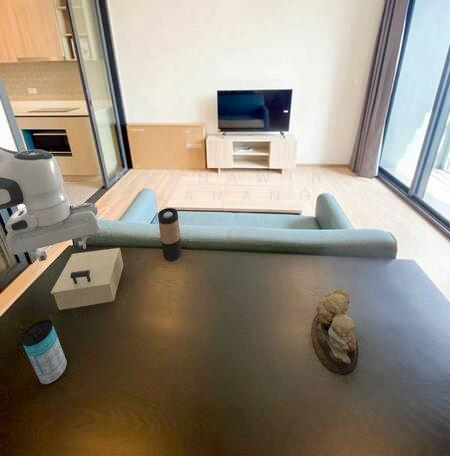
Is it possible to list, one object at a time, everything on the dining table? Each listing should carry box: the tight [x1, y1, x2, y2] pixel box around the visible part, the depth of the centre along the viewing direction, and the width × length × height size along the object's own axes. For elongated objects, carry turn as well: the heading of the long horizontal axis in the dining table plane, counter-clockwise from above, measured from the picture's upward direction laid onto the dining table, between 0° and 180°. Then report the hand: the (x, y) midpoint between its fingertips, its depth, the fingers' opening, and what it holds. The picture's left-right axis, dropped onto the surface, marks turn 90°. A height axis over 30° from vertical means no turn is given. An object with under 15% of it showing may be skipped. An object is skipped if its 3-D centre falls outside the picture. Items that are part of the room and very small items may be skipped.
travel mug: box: [157, 207, 182, 262], centre depth 97 cm, size 8×8×20 cm
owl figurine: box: [311, 288, 359, 376], centre depth 65 cm, size 18×12×17 cm, turn 166°
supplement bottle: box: [20, 319, 68, 385], centre depth 60 cm, size 6×6×15 cm
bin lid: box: [50, 247, 121, 295], centre depth 82 cm, size 16×17×5 cm
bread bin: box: [53, 250, 124, 311], centre depth 85 cm, size 16×17×8 cm
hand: (63, 253), depth 68 cm, fingers open, 8 cm apart
